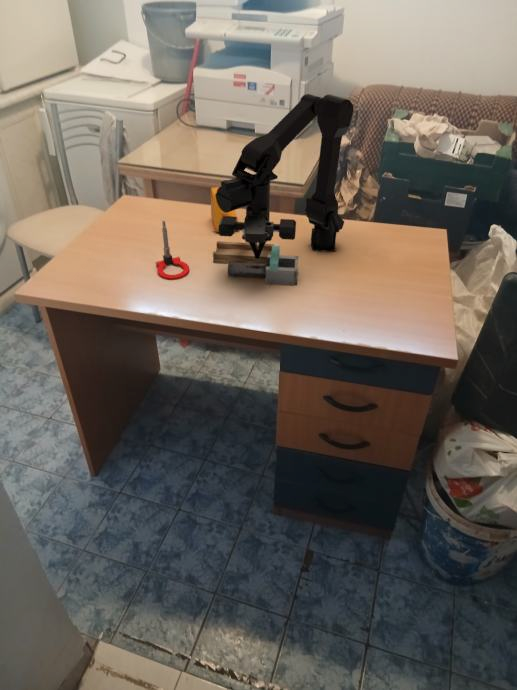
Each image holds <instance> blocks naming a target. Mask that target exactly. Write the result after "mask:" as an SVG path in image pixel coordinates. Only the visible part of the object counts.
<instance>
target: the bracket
mask: <svg viewBox="0 0 517 690" xmlns="http://www.w3.org/2000/svg"><path fill="white" fill-rule="evenodd" d="M219 187H220V186H217V187H216V186H215V187H210V216H211V219H212V225H213V228H214V231H215V232H218V233H219V223H220V221H221V218H222V217H223V216H231V217H237V222H240V221H239V218H238V215H237V213H236V210H233V211H230V212H227V213H226V212H223V211H222V210H221V209H220V208H219V206H218V204H217V201H216V193H217V190H218V188H219Z"/></svg>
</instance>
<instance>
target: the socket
mask: <svg viewBox="0 0 517 690" xmlns="http://www.w3.org/2000/svg"><path fill="white" fill-rule="evenodd" d="M270 258H271V255H268V264H270ZM278 265H282V267H278V270H277V271H275V270H270V267H266V278H265V281H264V283H265V284H266V285H281V286H282V285H283V286H297V283H298V269H299V256H298V255H297V256H296V255H283V254H282V255H281V254H279V262H278Z"/></svg>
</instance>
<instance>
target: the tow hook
mask: <svg viewBox="0 0 517 690" xmlns="http://www.w3.org/2000/svg"><path fill="white" fill-rule="evenodd" d="M161 223H162V224H161V225H162V228H161V229H162V232H161V233H162V239H163V255H162V258H163V259H162V260H158V261H156V262H155V266H156V267H157V268H156V271H157V275H158V276H159V277H160V278H162V279H163V280H167V281H175V280H181V279H183V278H186V277H187V276H188V274H190V265H189V264H187V263H186V262H185V261H182V260H181V257H180V256H176V257H173V255H172V254H171V249H170V245H169V237H168V228H167V226H166V221H165V220H162V221H161ZM170 265H174V266H179V267H180V268H182V271H181V272H180V273H177V274H176V273H175V274H169V273H166V272H165V271H164V270H165V269H166V268H167V266H170Z"/></svg>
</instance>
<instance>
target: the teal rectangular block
mask: <svg viewBox="0 0 517 690" xmlns="http://www.w3.org/2000/svg"><path fill="white" fill-rule="evenodd" d="M279 255H281V246H280V245H274V246H272V251H271V258H270V270H275V271H277V270H278V262H279Z"/></svg>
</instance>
